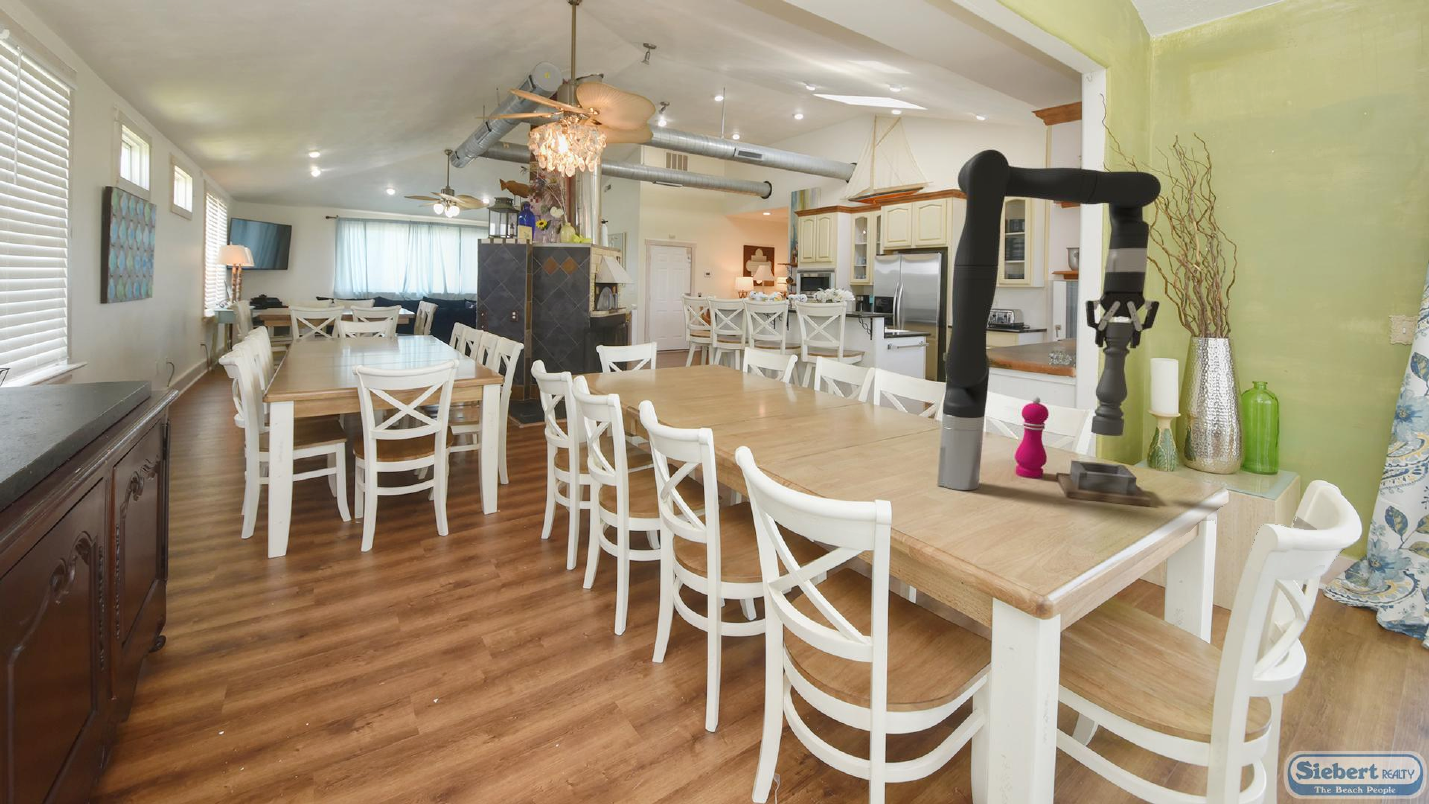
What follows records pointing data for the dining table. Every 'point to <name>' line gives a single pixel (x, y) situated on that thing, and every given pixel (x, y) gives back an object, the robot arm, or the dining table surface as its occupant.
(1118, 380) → the candle holder
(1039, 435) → the pepper mill
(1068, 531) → the dining table surface
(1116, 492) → the socket board
